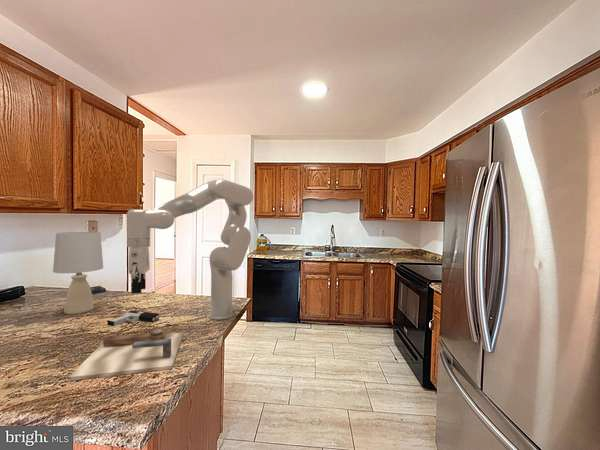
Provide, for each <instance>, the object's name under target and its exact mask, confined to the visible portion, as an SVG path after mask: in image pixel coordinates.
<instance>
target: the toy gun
mask: <svg viewBox="0 0 600 450" xmlns="http://www.w3.org/2000/svg"><path fill="white" fill-rule="evenodd" d="M159 320H160V314H159V312H148V311H144V312H143V311H140V310H130V311H128V312H125V313H124V315H121V316H119V317H115V318H113V319H108V320H106V321H107V326H110V327H115V326H117V325H120V324H123V323H126V322H144V323H145V322H146V323H154V322H156V321H159Z"/></svg>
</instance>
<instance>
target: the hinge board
mask: <svg viewBox="0 0 600 450" xmlns="http://www.w3.org/2000/svg"><path fill="white" fill-rule="evenodd" d="M161 332H162V329H160V328H156V329H153V330H152V333H153V334H154V335H157V334H160V333H161ZM183 337H184V331H183V332H171V333H170V332H169V333H166V337H165V339H160V340H149V341H138V342H134V343H133V344H122V345H111V346H104V345H103V341H102V342H101V343H100V344H99V345H98V346H97V347H96V349H94V351H93V352H91V354H90V355H89V356H88V357H87V358H86V359H85V360H84V361H83V362H82V363H81V364H79V366H78V367H77V368H76V369H75V370H74V371H73V372H72V373H71V374H70V375H69V376H68V381H69V382H71V381H78V380H87V379H98V378H106V377H113V376H122V375H129V374H132V375H133V374H139V373H141V374H142V373H146V372H147V373H148V372H156V371H166V370H172V369H173V367H174V364H175V361H176V359H177V355H178V352H179V350H180V346H181V343H182V340H183Z"/></svg>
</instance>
